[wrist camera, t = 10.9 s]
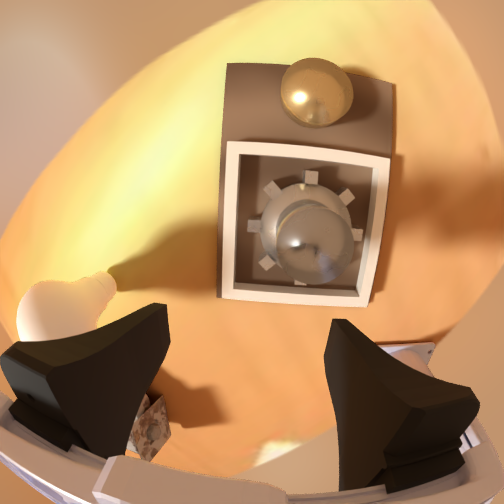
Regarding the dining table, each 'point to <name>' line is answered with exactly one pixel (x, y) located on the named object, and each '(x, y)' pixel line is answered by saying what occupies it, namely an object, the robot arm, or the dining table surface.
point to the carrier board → (297, 161)
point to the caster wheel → (149, 429)
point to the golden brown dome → (315, 93)
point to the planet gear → (306, 230)
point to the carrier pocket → (299, 293)
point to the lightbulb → (64, 307)
